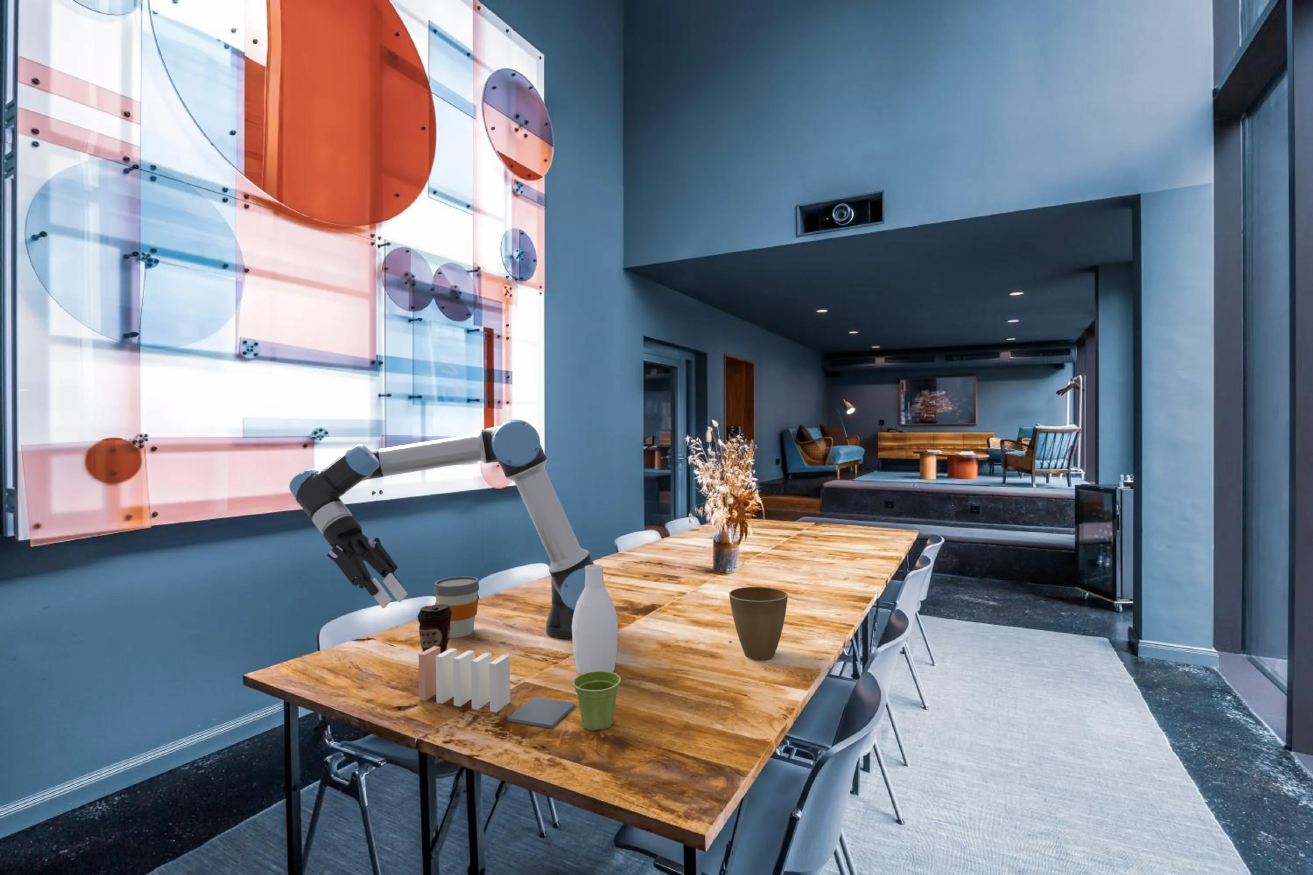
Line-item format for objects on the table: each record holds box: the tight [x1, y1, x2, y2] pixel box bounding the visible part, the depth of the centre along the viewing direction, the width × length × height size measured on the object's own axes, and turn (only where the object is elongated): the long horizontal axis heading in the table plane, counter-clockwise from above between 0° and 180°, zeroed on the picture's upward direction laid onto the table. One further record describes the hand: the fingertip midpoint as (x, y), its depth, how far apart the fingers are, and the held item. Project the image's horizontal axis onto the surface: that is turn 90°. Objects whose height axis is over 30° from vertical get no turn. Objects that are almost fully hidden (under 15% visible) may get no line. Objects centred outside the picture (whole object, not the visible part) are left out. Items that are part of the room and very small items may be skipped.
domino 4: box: [471, 652, 493, 710], centre depth 125 cm, size 2×5×10 cm, turn 161°
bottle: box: [571, 564, 619, 676], centre depth 142 cm, size 11×11×25 cm
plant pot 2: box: [728, 586, 789, 661], centre depth 151 cm, size 15×15×16 cm
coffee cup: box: [417, 604, 452, 654], centre depth 153 cm, size 9×8×13 cm
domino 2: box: [435, 648, 458, 705], centre depth 128 cm, size 2×5×10 cm, turn 161°
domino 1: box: [418, 646, 440, 702], centre depth 130 cm, size 2×5×10 cm, turn 161°
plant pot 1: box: [572, 671, 622, 732], centre depth 116 cm, size 9×9×9 cm
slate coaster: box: [507, 696, 576, 729], centre depth 121 cm, size 10×10×1 cm
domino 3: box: [453, 650, 475, 707], centre depth 127 cm, size 2×5×10 cm, turn 161°
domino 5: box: [489, 654, 511, 713], centre depth 124 cm, size 2×5×10 cm, turn 161°
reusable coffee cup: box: [433, 575, 480, 639], centre depth 172 cm, size 13×13×15 cm
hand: (395, 600), depth 133 cm, fingers open, 4 cm apart
